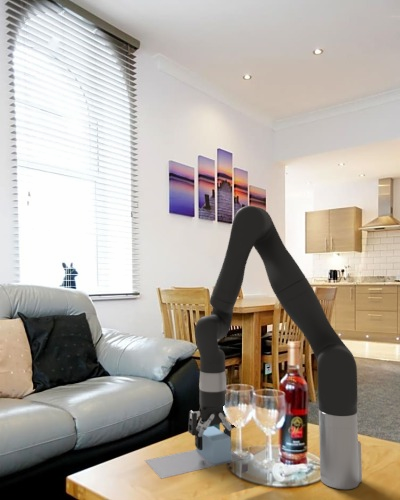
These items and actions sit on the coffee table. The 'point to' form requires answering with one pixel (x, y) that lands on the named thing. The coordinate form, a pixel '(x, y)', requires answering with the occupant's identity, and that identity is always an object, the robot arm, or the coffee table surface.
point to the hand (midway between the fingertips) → (213, 446)
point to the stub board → (183, 463)
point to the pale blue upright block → (216, 446)
